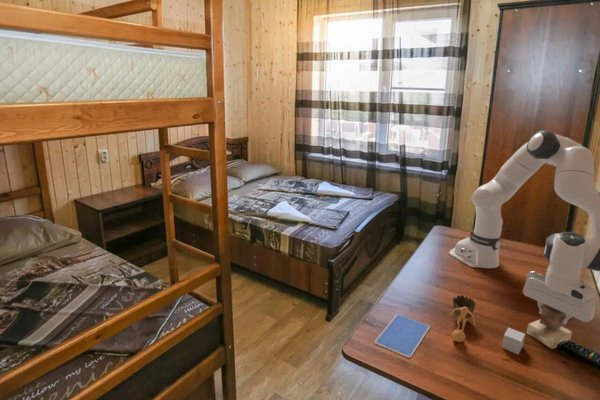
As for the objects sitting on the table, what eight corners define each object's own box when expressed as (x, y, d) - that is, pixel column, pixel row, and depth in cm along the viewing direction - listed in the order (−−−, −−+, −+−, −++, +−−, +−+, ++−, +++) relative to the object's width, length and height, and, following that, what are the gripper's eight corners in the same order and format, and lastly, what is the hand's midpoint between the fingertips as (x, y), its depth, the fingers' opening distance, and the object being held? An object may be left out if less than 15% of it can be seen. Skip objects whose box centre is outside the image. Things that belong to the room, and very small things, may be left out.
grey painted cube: (501, 347, 125) (504, 334, 123) (505, 340, 128) (508, 327, 127) (518, 354, 122) (521, 341, 120) (522, 346, 125) (525, 334, 124)
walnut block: (539, 322, 129) (543, 307, 127) (546, 317, 131) (550, 302, 129) (555, 330, 125) (559, 314, 123) (562, 325, 127) (566, 309, 126)
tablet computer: (410, 360, 120) (410, 357, 120) (373, 344, 127) (373, 341, 127) (430, 328, 135) (430, 325, 135) (396, 316, 142) (396, 313, 142)
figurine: (443, 338, 129) (447, 308, 125) (449, 329, 133) (453, 300, 130) (469, 349, 124) (474, 317, 120) (474, 339, 129) (479, 308, 125)
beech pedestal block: (526, 333, 132) (528, 323, 131) (543, 326, 135) (545, 316, 134) (552, 349, 124) (554, 339, 123) (569, 342, 128) (572, 331, 126)
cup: (462, 328, 134) (465, 309, 132) (446, 317, 140) (448, 298, 138) (477, 322, 137) (480, 303, 135) (460, 311, 144) (463, 293, 141)
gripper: (523, 271, 130) (516, 306, 134) (593, 299, 113) (582, 338, 118) (532, 266, 133) (525, 300, 137) (602, 293, 117) (591, 331, 121)
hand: (552, 318), depth 127 cm, fingers closed on walnut block, 5 cm apart
